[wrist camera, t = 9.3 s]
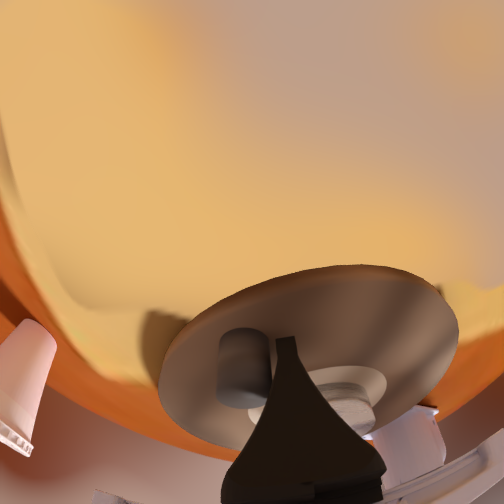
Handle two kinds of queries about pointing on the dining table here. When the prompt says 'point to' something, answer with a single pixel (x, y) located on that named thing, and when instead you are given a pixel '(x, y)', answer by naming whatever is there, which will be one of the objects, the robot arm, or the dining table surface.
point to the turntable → (309, 346)
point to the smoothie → (23, 381)
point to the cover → (350, 404)
